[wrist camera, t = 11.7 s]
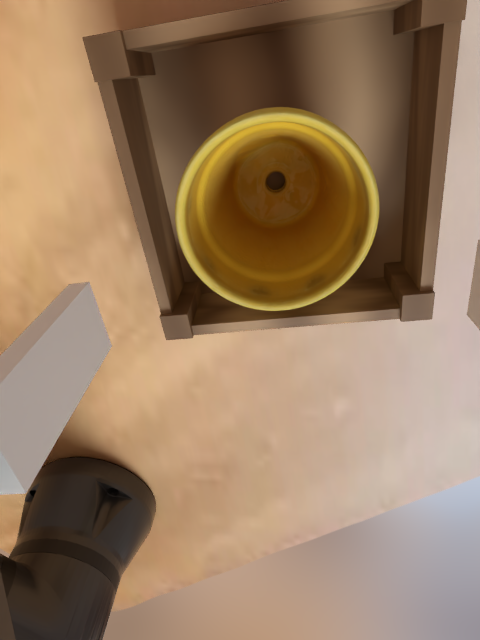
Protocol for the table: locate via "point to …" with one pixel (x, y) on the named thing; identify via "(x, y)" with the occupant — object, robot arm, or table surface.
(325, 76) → the walnut crate
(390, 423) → the table surface
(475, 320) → the robot arm
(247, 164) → the plant pot
